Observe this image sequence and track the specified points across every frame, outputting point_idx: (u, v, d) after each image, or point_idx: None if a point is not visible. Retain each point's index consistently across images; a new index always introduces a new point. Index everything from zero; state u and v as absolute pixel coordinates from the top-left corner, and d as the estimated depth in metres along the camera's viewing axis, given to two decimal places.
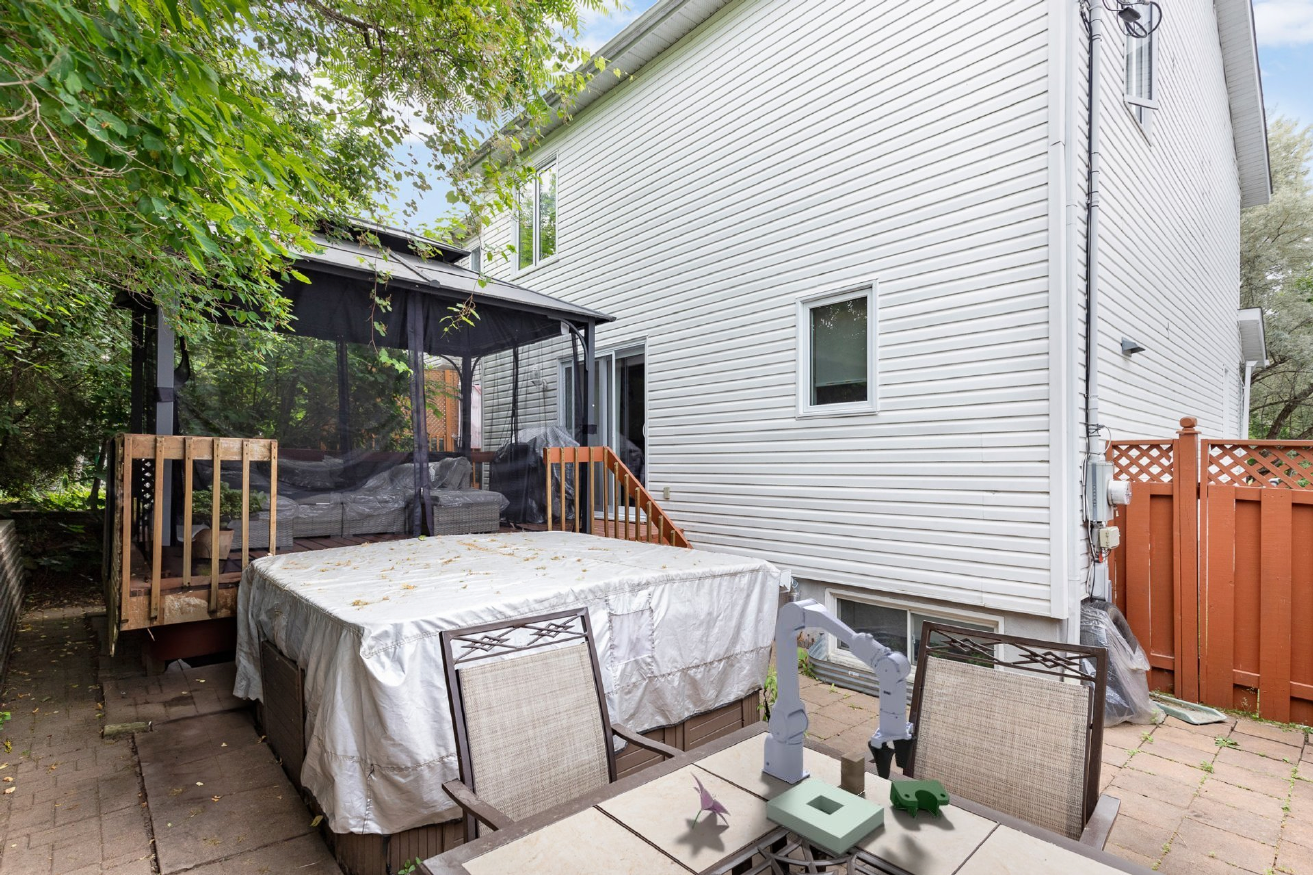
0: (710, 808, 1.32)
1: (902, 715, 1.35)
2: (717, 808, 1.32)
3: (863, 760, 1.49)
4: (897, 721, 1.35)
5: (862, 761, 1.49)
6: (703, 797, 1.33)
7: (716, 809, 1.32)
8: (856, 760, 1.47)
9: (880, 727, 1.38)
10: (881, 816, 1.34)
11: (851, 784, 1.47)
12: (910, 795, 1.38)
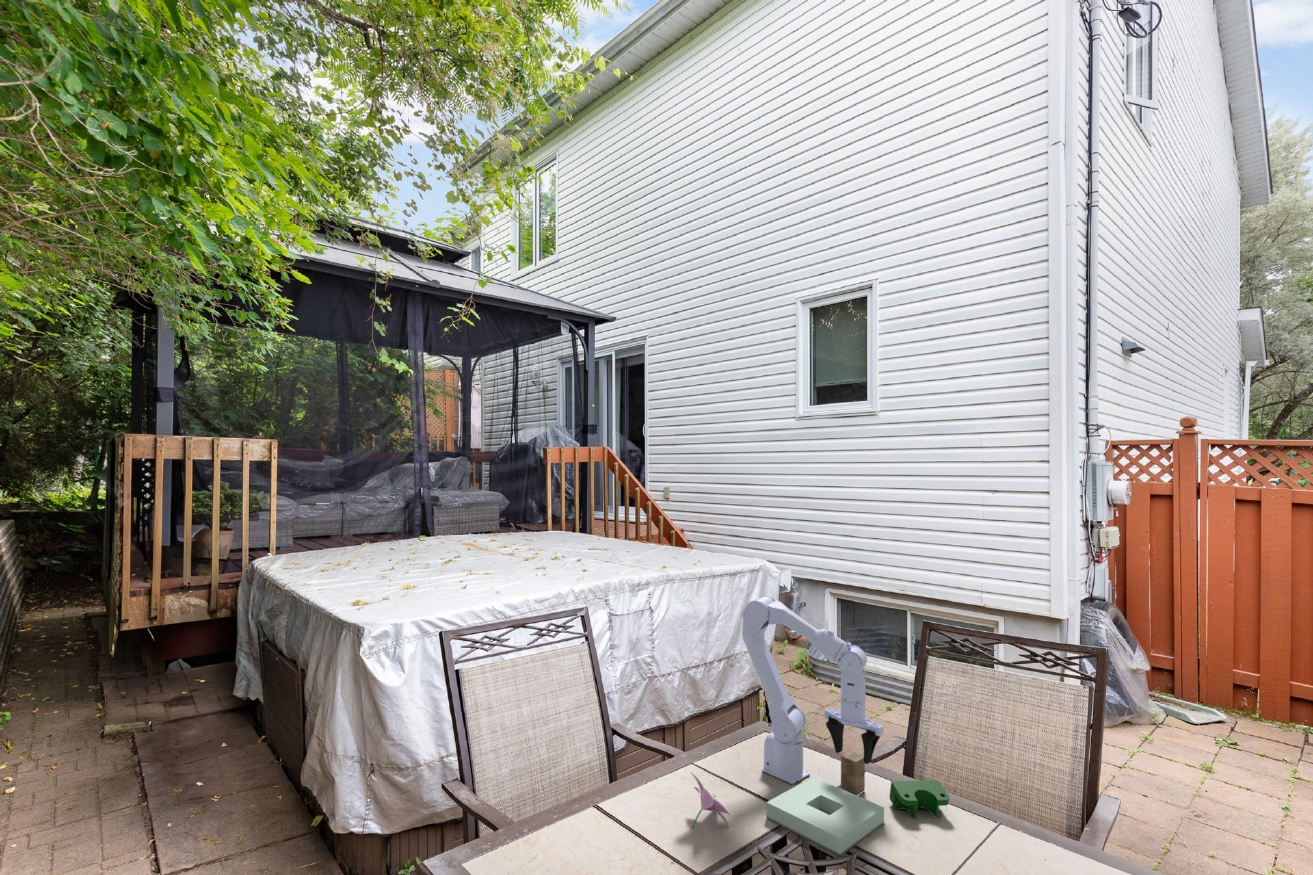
0: (710, 808, 1.33)
1: (844, 702, 1.49)
2: (717, 808, 1.32)
3: (863, 760, 1.49)
4: (841, 705, 1.50)
5: (862, 761, 1.49)
6: (703, 797, 1.33)
7: (716, 809, 1.32)
8: (856, 760, 1.47)
9: None
10: (881, 816, 1.34)
11: (851, 784, 1.47)
12: (910, 795, 1.38)
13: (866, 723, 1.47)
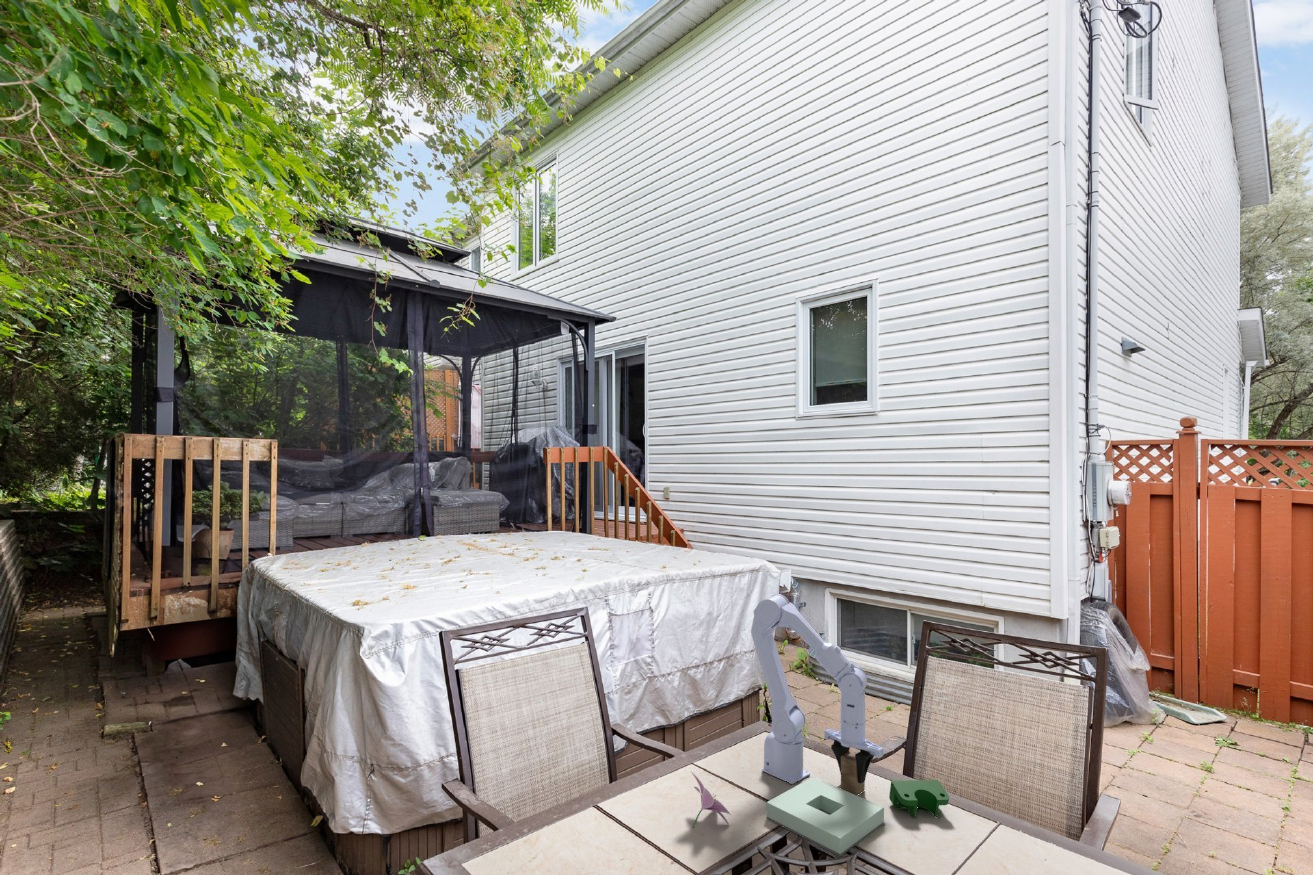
0: (710, 808, 1.33)
1: (844, 723, 1.49)
2: (718, 808, 1.32)
3: None
4: (841, 726, 1.50)
5: None
6: (703, 797, 1.33)
7: (716, 808, 1.32)
8: None
9: None
10: (881, 816, 1.34)
11: (851, 784, 1.47)
12: (910, 795, 1.38)
13: (866, 745, 1.47)
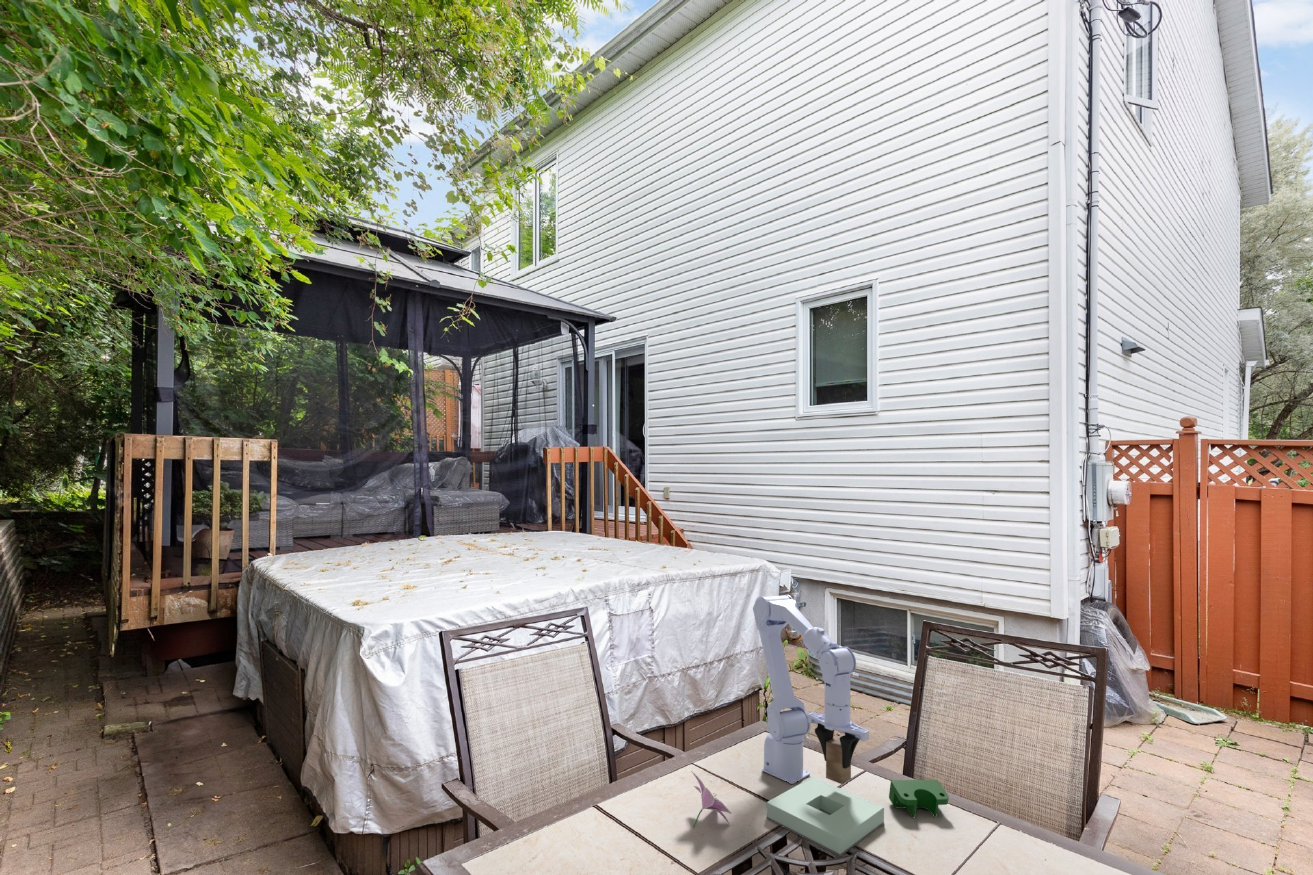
0: (711, 807, 1.33)
1: (828, 705, 1.41)
2: (718, 807, 1.32)
3: None
4: (825, 708, 1.42)
5: None
6: (704, 796, 1.33)
7: (717, 808, 1.33)
8: None
9: None
10: (881, 816, 1.34)
11: (837, 771, 1.40)
12: (909, 794, 1.38)
13: (851, 727, 1.39)
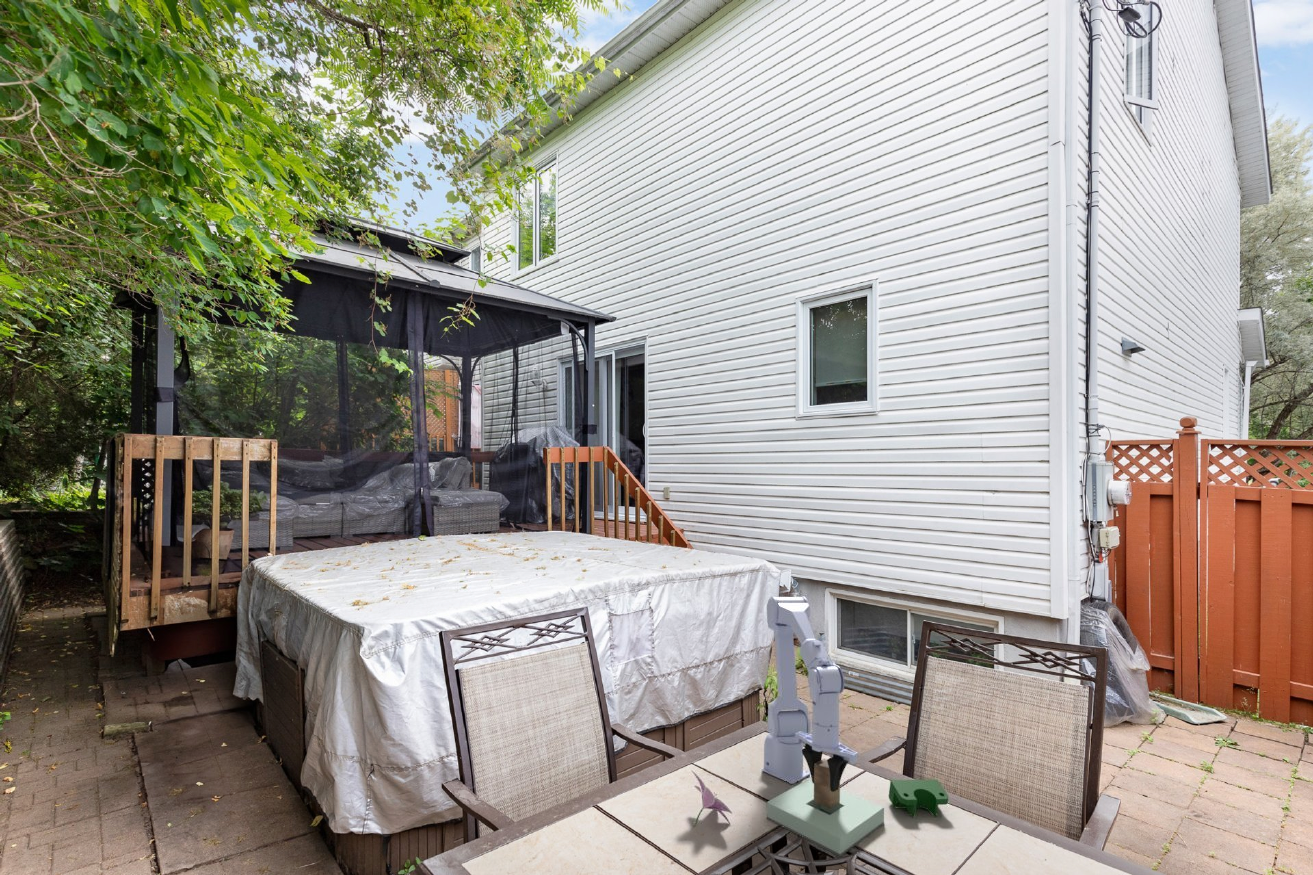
0: (711, 806, 1.33)
1: (815, 725, 1.35)
2: (719, 806, 1.32)
3: None
4: (812, 728, 1.36)
5: None
6: (705, 796, 1.34)
7: (717, 807, 1.33)
8: None
9: None
10: (881, 816, 1.34)
11: (825, 795, 1.34)
12: (909, 794, 1.38)
13: (839, 749, 1.33)
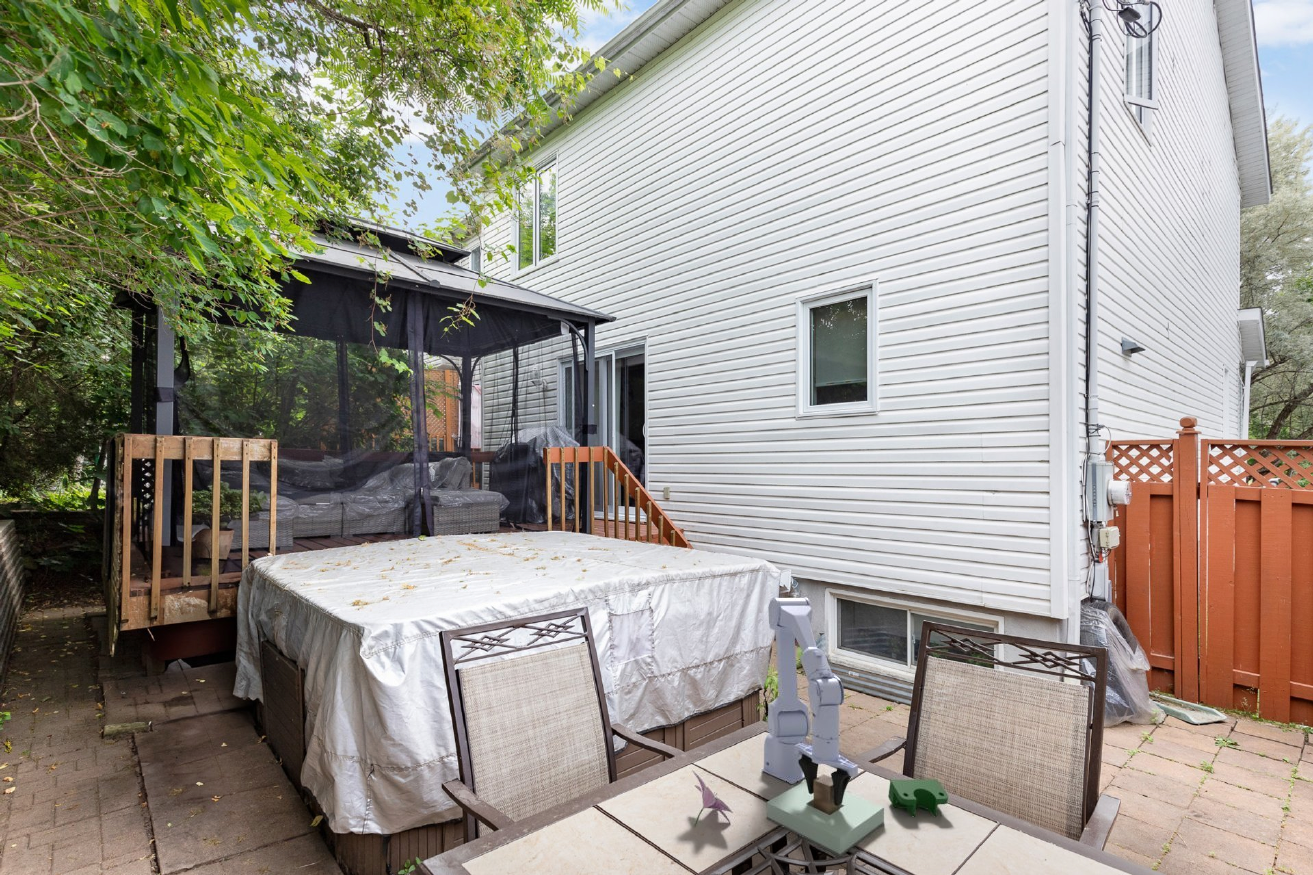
0: (712, 806, 1.33)
1: (815, 737, 1.35)
2: (719, 806, 1.33)
3: None
4: (812, 740, 1.36)
5: None
6: (705, 795, 1.34)
7: (718, 807, 1.33)
8: (830, 784, 1.34)
9: None
10: (881, 816, 1.34)
11: (824, 811, 1.34)
12: (909, 794, 1.39)
13: (839, 761, 1.33)
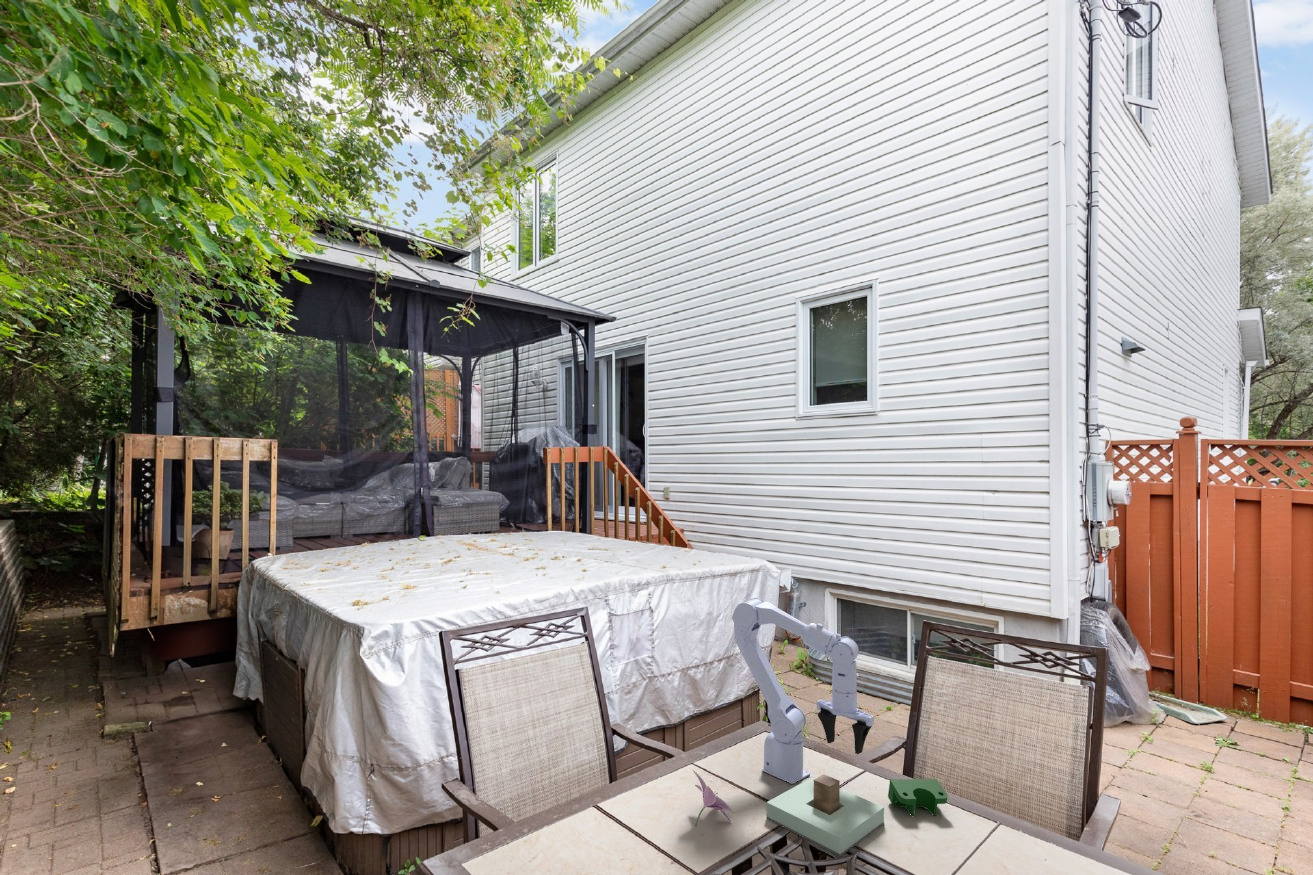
0: (713, 805, 1.34)
1: (835, 692, 1.50)
2: (720, 805, 1.33)
3: (838, 784, 1.36)
4: (832, 695, 1.51)
5: (837, 785, 1.35)
6: (706, 794, 1.34)
7: (718, 806, 1.33)
8: (830, 784, 1.34)
9: None
10: (881, 816, 1.34)
11: (824, 811, 1.34)
12: (908, 793, 1.39)
13: (857, 713, 1.48)
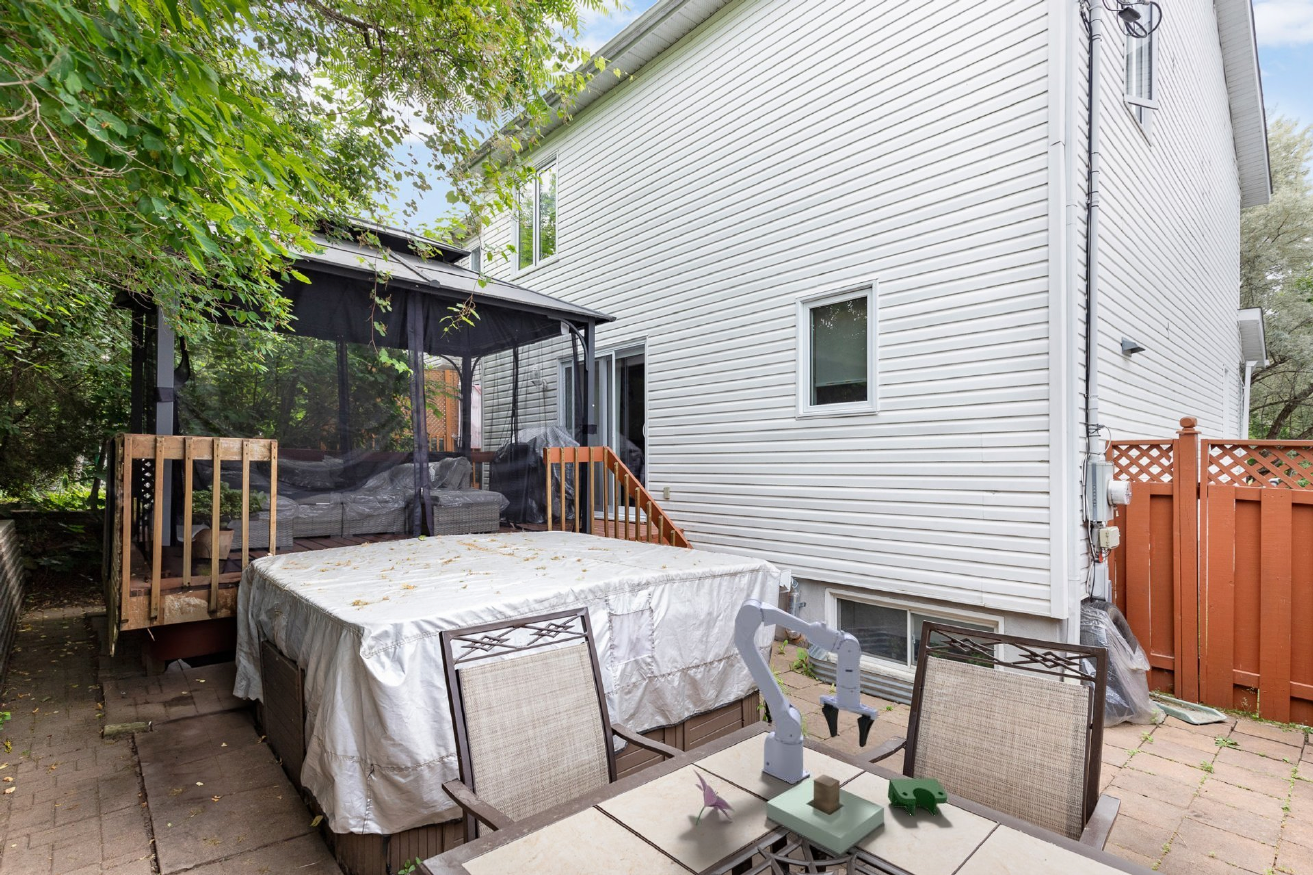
0: (713, 804, 1.34)
1: (840, 687, 1.53)
2: (721, 804, 1.33)
3: (838, 784, 1.36)
4: (837, 691, 1.54)
5: (837, 785, 1.35)
6: (706, 794, 1.34)
7: (719, 805, 1.34)
8: (830, 784, 1.34)
9: None
10: (881, 816, 1.34)
11: (824, 811, 1.34)
12: (908, 793, 1.39)
13: (861, 708, 1.52)
